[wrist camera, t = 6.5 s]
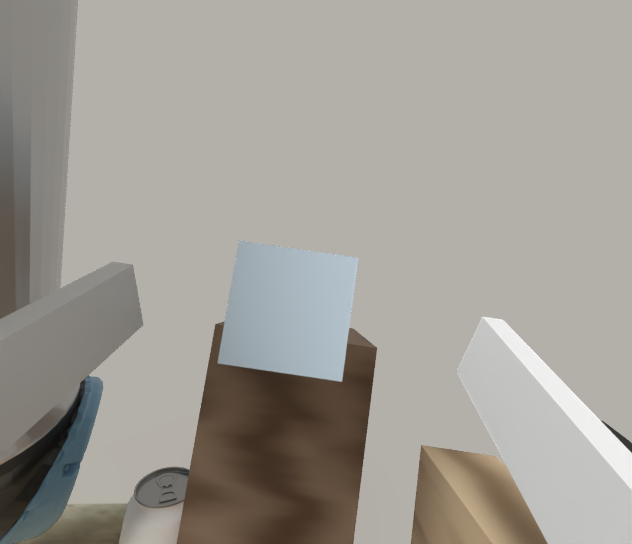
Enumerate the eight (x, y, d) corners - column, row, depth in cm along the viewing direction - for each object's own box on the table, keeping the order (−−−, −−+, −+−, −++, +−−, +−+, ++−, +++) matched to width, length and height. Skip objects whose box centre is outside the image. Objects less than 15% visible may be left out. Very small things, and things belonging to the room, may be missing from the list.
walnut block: (111, 911, 14) (215, 324, 17) (196, 654, 24) (252, 313, 27) (304, 942, 14) (376, 348, 16) (308, 671, 24) (353, 328, 26)
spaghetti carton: (341, 381, 9) (358, 258, 9) (217, 363, 9) (238, 240, 9) (321, 320, 30) (326, 285, 31) (286, 315, 30) (292, 280, 31)
